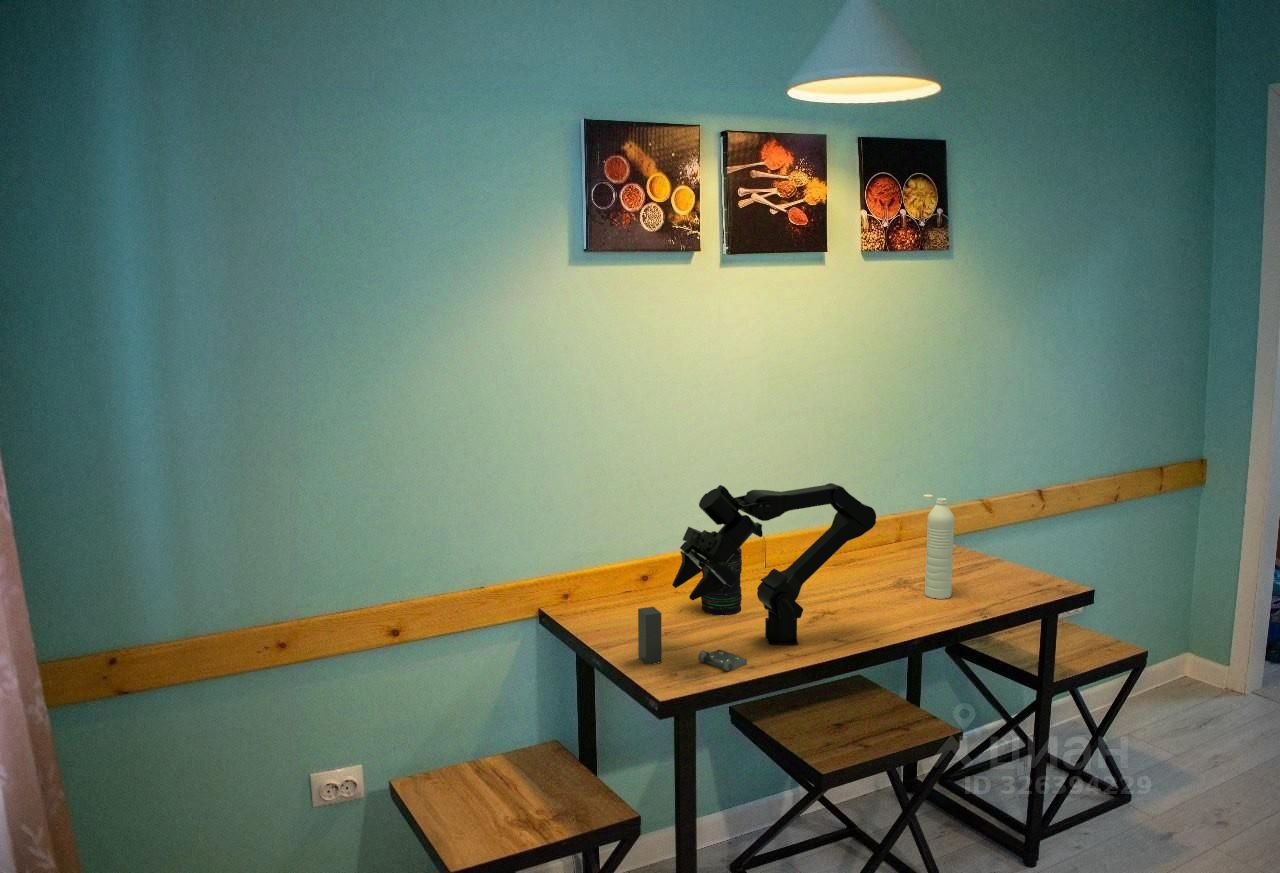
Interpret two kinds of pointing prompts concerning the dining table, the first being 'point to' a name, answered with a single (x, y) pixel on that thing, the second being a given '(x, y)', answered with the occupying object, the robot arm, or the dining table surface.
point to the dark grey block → (649, 635)
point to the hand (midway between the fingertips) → (681, 592)
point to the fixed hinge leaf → (722, 659)
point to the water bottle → (939, 550)
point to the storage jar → (725, 593)
